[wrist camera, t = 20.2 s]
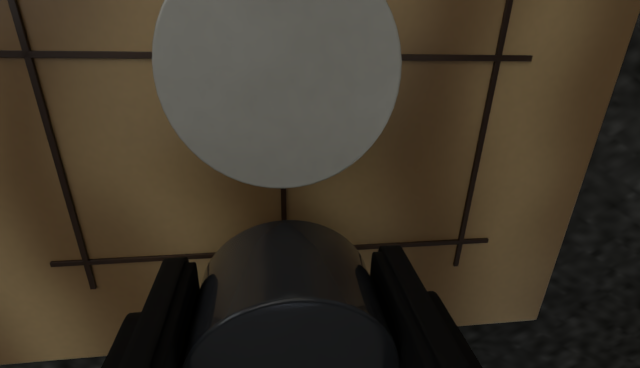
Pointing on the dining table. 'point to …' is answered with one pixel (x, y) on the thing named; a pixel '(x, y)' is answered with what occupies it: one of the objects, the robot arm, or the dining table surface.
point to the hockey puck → (289, 304)
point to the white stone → (277, 83)
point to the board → (300, 202)
